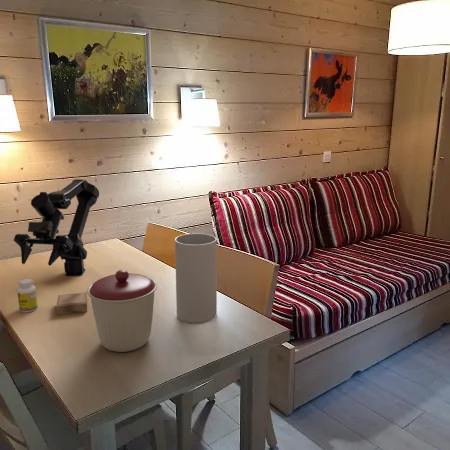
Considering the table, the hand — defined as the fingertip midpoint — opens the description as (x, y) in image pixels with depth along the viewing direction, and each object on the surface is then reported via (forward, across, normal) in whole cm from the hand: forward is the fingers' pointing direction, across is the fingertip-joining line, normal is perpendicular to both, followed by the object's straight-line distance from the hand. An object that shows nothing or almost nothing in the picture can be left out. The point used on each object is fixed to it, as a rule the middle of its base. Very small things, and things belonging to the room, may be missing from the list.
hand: (35, 264), depth 141 cm
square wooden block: (+12, +14, +6) cm, 19 cm away
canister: (+25, +38, -7) cm, 46 cm away
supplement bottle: (+14, 0, +5) cm, 15 cm away
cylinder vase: (+12, +54, +7) cm, 56 cm away
